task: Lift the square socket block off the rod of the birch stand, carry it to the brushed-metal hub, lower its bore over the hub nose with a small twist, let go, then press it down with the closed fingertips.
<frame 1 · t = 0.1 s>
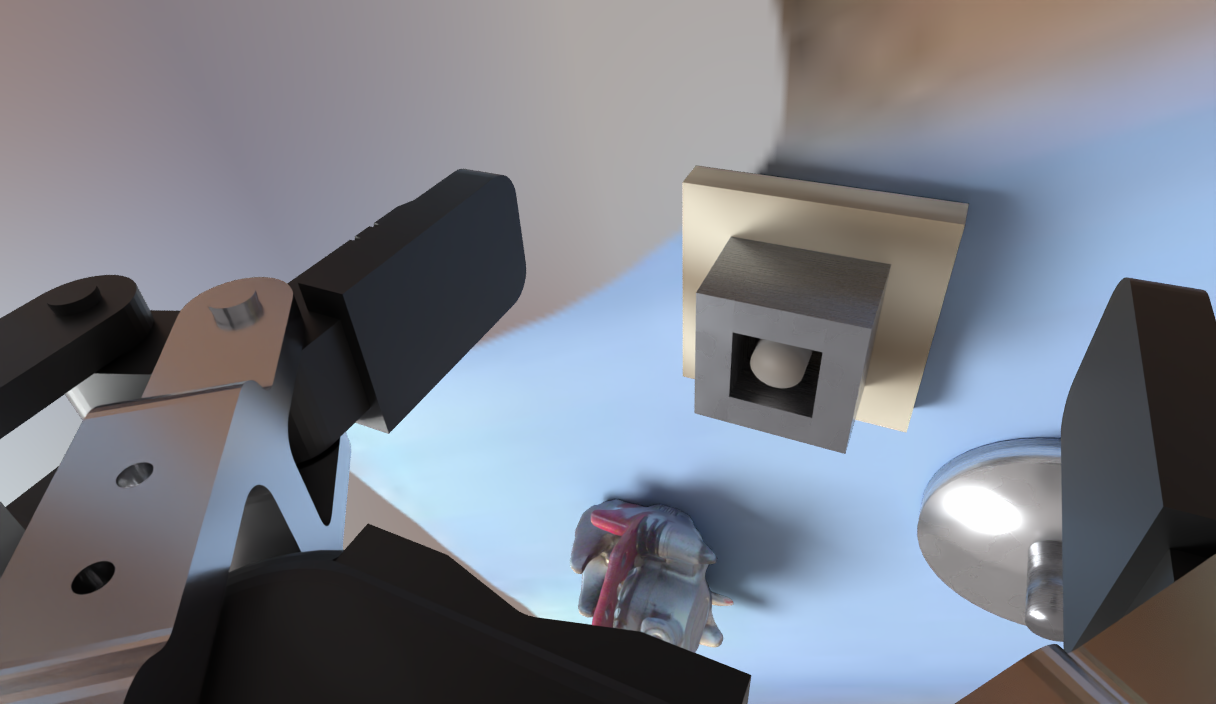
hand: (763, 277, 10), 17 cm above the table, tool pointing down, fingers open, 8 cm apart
square socket block: (799, 313, 29), point 1 cm above the table, touching stand
brake caliper: (665, 537, 47), on the table
stand: (808, 292, 30), on the table
hub: (1055, 529, 32), on the table
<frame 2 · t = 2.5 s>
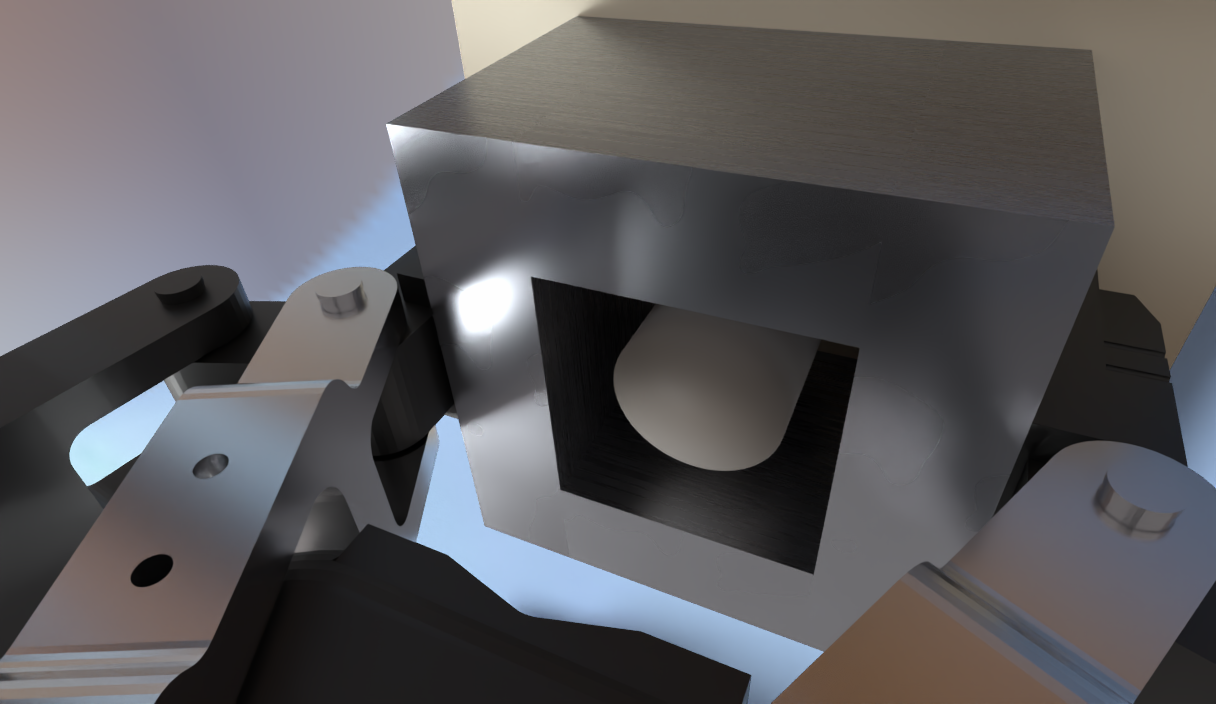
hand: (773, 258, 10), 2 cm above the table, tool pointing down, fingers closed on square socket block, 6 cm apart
square socket block: (778, 251, 11), point 1 cm above the table, touching gripper, stand
stand: (803, 205, 12), on the table
when the fingers open (3 cm above the table, at t = 7.5 s): square socket block stays where it is, resting on hub.
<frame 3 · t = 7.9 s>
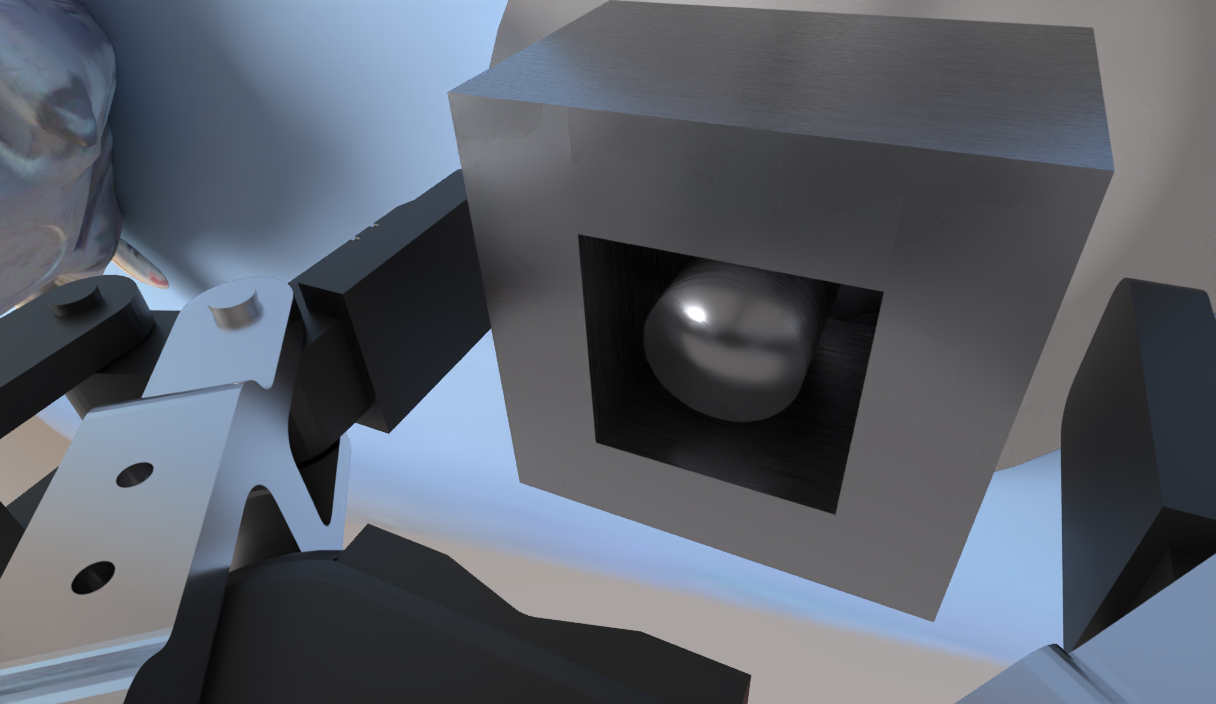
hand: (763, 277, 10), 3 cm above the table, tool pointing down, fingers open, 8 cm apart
square socket block: (797, 223, 11), point 1 cm above the table, touching hub
brake caliper: (59, 84, 20), on the table
hub: (814, 184, 12), on the table
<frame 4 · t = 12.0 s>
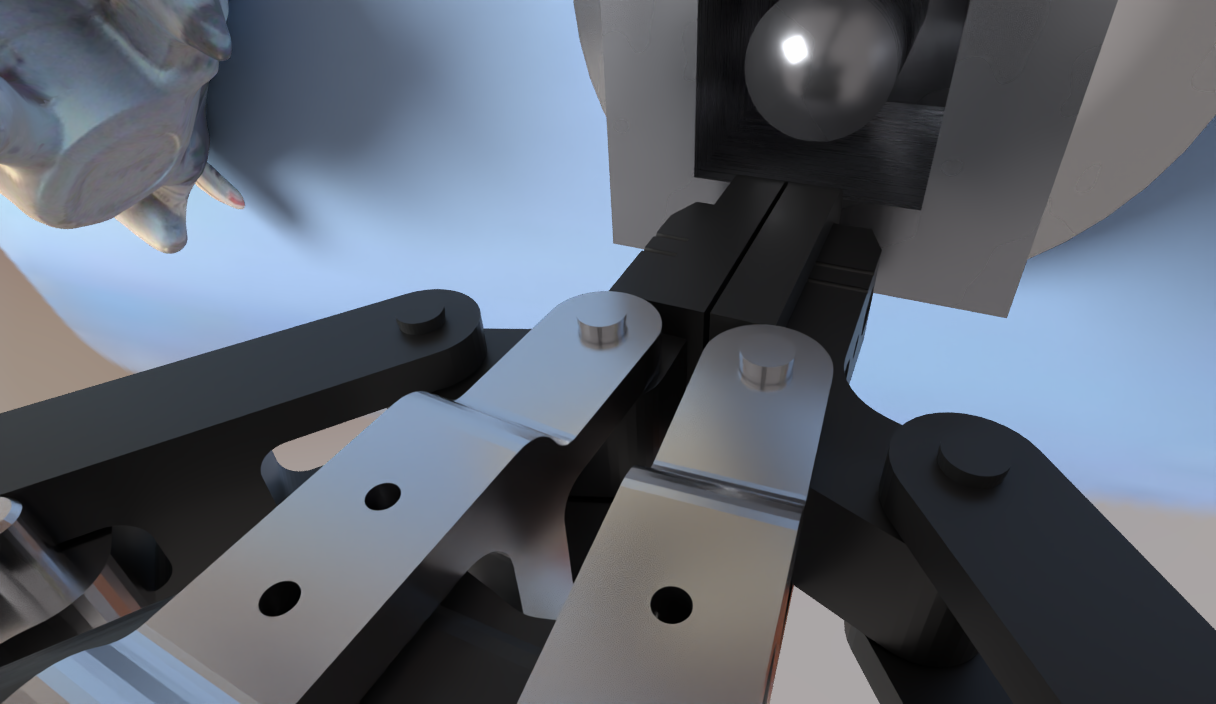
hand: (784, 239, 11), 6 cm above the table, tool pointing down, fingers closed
square socket block: (869, 2, 12), point 1 cm above the table, touching gripper, hub
brake caliper: (164, 7, 22), on the table
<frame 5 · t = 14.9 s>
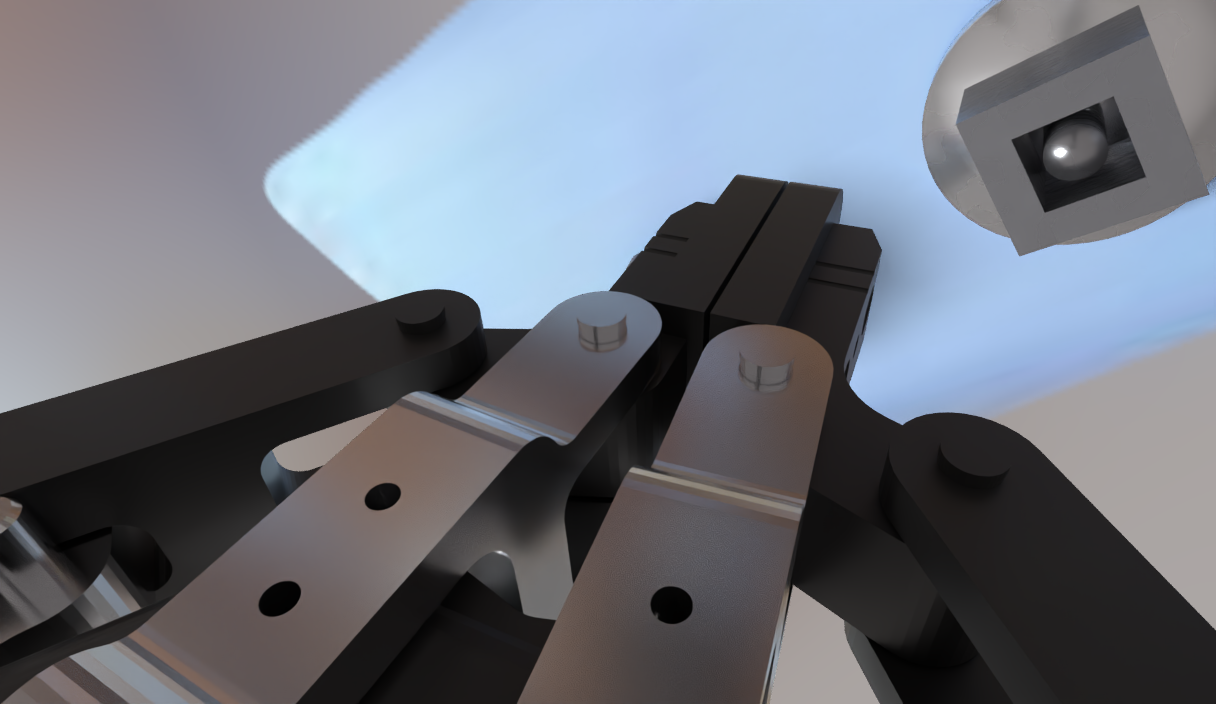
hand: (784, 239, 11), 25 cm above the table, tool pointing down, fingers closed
square socket block: (1074, 118, 29), point 1 cm above the table, touching hub
hub: (1072, 107, 30), on the table
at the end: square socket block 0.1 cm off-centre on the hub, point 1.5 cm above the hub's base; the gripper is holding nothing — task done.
